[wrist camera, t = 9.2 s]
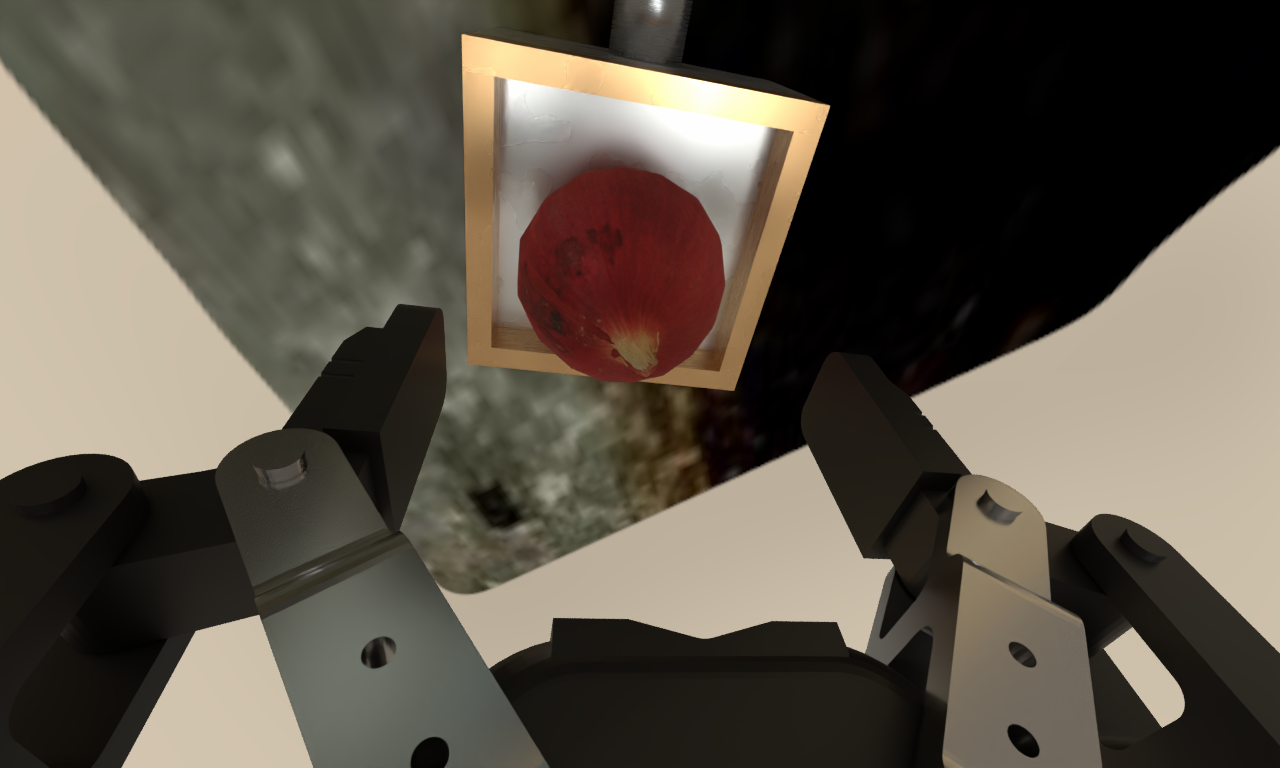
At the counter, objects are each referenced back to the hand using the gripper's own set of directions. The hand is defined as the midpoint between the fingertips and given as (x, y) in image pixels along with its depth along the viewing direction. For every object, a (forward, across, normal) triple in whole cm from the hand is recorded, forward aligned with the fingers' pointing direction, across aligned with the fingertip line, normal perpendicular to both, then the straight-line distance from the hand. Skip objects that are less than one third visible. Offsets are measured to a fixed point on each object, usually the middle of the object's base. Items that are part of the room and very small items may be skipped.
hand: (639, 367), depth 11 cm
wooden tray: (+14, 0, -1) cm, 14 cm away
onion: (+9, 0, 0) cm, 9 cm away
